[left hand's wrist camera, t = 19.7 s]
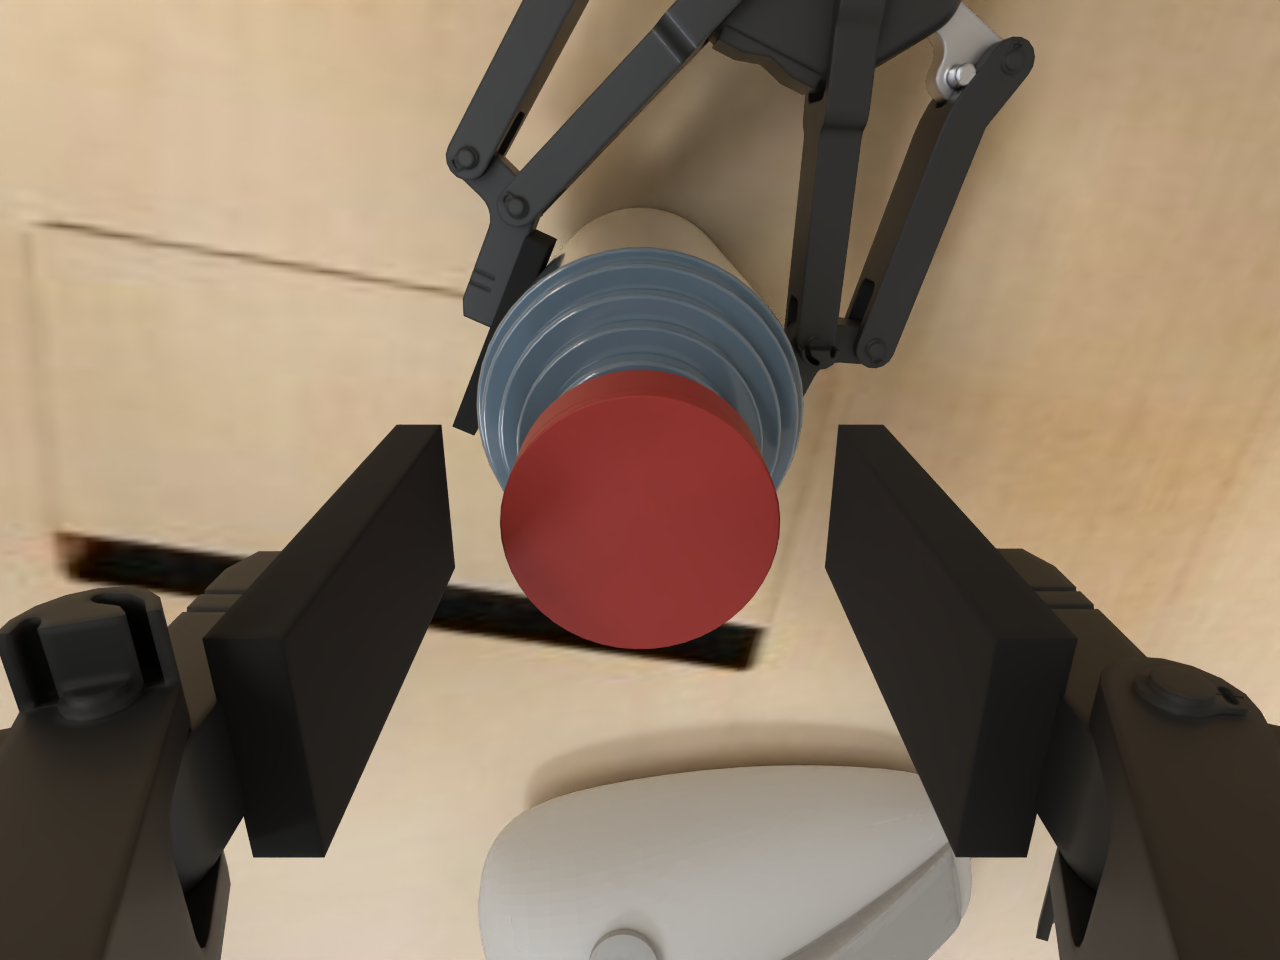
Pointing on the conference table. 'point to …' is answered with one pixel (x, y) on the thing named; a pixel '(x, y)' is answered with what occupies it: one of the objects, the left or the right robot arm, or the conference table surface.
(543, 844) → the projector
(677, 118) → the conference table surface
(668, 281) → the bottle
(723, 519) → the cap
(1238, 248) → the conference table surface
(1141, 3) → the conference table surface
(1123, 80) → the conference table surface
